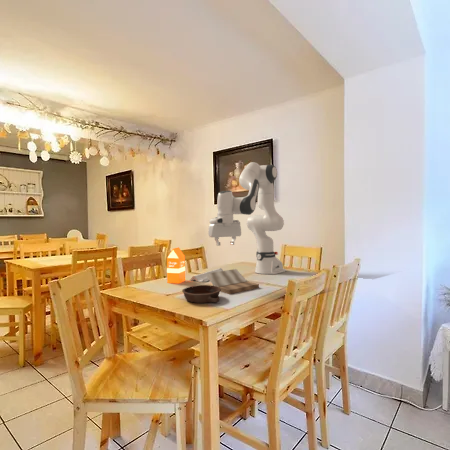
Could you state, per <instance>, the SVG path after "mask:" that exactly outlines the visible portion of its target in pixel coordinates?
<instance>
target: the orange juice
mask: <svg viewBox="0 0 450 450" xmlns="http://www.w3.org/2000/svg"><path fill="white" fill-rule="evenodd" d="M166 257H167V258H166V280H167V284H181V283H184V282H185V281H186V256H185V254H184V253H183V251H182V250H181V248H180V247H175V248H172V249H171V251H170V253H169V254H168V256H166Z"/></svg>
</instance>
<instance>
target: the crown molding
mask: <svg viewBox="0 0 450 450" xmlns="http://www.w3.org/2000/svg"><path fill="white" fill-rule="evenodd" d="M220 271H224V270H223V268H222V267H220V268H216V269H212V270H209V271H206V272H203V273H200V274H196V275H195V274H194V275H193V276H192V277H191V278H190V279H189V281H195V282H199V283H203V282H204V283H206V282H211V281H210V280H209V279H208V277H207V274H208V273H213V272H220Z"/></svg>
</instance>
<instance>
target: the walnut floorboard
mask: <svg viewBox="0 0 450 450" xmlns="http://www.w3.org/2000/svg"><path fill="white" fill-rule="evenodd" d="M219 288H220V289H221V291H220V292H221V293H224V294H227V295H232V294H237V293H241V292H246V291H250V290H255V289H259V288H260V284H259V283H256V282H252V281H248V280H247V281H246V282H241V283H236V284H230V285H225V286H220V287H219Z"/></svg>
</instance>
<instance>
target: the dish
mask: <svg viewBox="0 0 450 450" xmlns="http://www.w3.org/2000/svg"><path fill="white" fill-rule="evenodd" d="M181 291H182V293H183V295H184V298H185V300H187V301H188V302H191V303H194V304H196V303H197V304H208V303H218V302H219V301H220V295H219V294H220V292H221V289H220V288H219V287H217V286H214V285H212V284H206V285H205V284H199V285H193V286H187V287H184V288H183V289H182V290H181Z"/></svg>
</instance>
